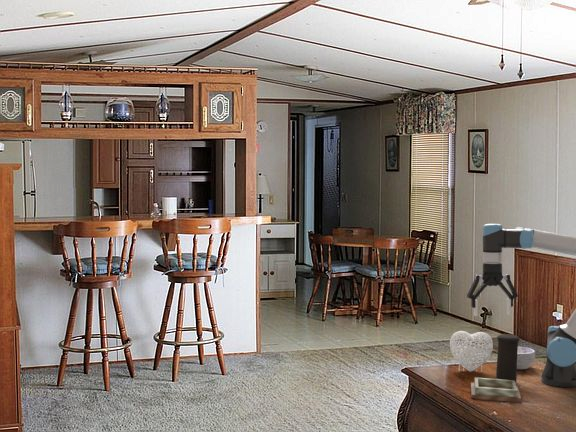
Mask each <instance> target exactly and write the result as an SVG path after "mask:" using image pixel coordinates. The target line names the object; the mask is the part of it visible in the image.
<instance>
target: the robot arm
mask: <svg viewBox="0 0 576 432" xmlns="http://www.w3.org/2000/svg"><path fill="white" fill-rule="evenodd" d="M507 248H508V249H525V250H526V249H537V250H543V251H548V252H551V253H552V252H554V253H557V254H564V255H569V256H574V257H576V236H573V235H568V234H567V235H566V234H563V233H562V234H561V233H556V232H552V231H551V232H550V231H544V230H538V229H533V228H529V227H527V228H526V227H524V226H521V225H520V226H515V227H514V228H511V229H508V228H507V229H506V228H503V225H502V224H500V223H486V224H484V225H483V227H482V262H483V263H482V274H481V275H480V274H475V275H474V279H473V282H472V284H471V286H470V288H469V290H468V292H467V295H466V298H468V299H470V300H471V302H470V303H471V308H472V309H473V316H474V317H478V316H479V314H478V313H479V312H478V311H479V310H478V309H479V303H478V301H479V300H478V299H477V298H479V296H480V294H481V293H482V292H483V291H484V290H485V288H487V287H493V286H494V287H497V286H498V287H499V288H500V289H501V291H503V293H505V295H506V296H507V298H506V315H507V316H511V315H512V308H513V306H514V299H515V298H518V297H519V295H518V293H517V290H516V288H515V286H514V285H513V282H512V280H511V276H510V274H508V273H505V274H503V264H502V262H503V249H507ZM503 279H504V280H505V282H506V284H507V286H508V288H509V289H508V288H507V287H506V286H505V284H504V283H503V282H502V280H503ZM481 280H482V282H481V284H480V285H479V287H478V284H479V283H480V281H481ZM477 287H478V288H477ZM509 290H510V291H509ZM546 332H547V343H546V350H545V351H546V363H545V366H544V369H543V371H542V373H541V379H540V381H541V382H542V383H544V384H546V385H548V386H552V387H559V386H560V387H561V388H575V386H576V308H575V309H574V310H573V312H572V313H571V315H570V317H569V318H568V319H567V321H566V322H565V323H564V324H560V325H551V326H549V327H548V329H547V331H546Z"/></svg>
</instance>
